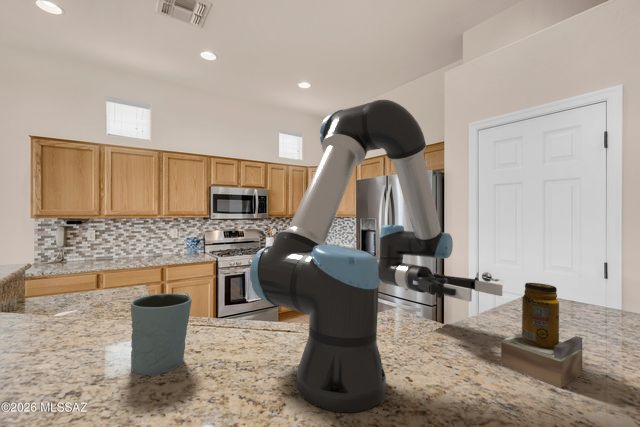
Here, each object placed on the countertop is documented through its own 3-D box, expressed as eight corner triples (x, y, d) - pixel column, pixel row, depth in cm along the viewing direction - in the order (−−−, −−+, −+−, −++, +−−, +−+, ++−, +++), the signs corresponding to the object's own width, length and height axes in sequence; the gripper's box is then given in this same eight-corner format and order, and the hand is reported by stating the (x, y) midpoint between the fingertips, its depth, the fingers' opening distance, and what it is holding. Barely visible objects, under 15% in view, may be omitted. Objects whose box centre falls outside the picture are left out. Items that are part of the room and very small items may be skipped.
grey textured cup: (177, 348, 61) (181, 291, 62) (196, 366, 54) (200, 301, 54) (120, 362, 54) (125, 297, 55) (133, 385, 47) (138, 310, 47)
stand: (560, 388, 51) (560, 348, 52) (501, 364, 60) (501, 330, 60) (582, 373, 57) (582, 337, 58) (525, 354, 66) (525, 322, 66)
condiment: (567, 347, 58) (567, 286, 58) (550, 355, 53) (550, 290, 54) (526, 335, 64) (526, 280, 65) (507, 341, 59) (508, 282, 60)
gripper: (440, 287, 93) (512, 303, 75) (383, 293, 80) (455, 315, 62) (440, 263, 93) (512, 274, 75) (384, 266, 80) (455, 280, 62)
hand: (487, 292), depth 68 cm, fingers open, 13 cm apart
